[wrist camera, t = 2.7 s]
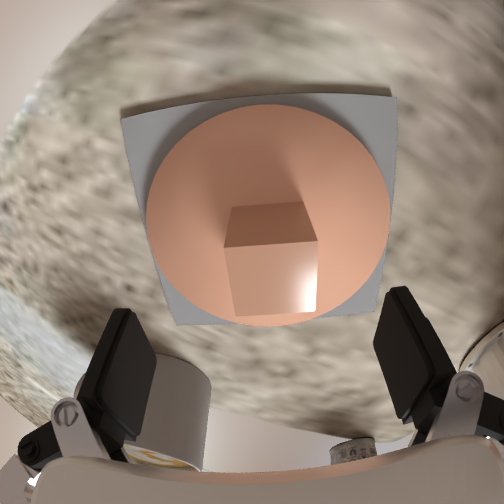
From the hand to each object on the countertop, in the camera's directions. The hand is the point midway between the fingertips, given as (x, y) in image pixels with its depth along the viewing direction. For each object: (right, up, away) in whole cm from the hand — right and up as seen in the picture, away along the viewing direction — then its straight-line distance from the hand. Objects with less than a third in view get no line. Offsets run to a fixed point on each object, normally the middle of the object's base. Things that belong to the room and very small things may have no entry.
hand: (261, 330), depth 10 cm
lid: (+1, +4, +8) cm, 9 cm away
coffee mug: (-11, -10, +17) cm, 23 cm away
